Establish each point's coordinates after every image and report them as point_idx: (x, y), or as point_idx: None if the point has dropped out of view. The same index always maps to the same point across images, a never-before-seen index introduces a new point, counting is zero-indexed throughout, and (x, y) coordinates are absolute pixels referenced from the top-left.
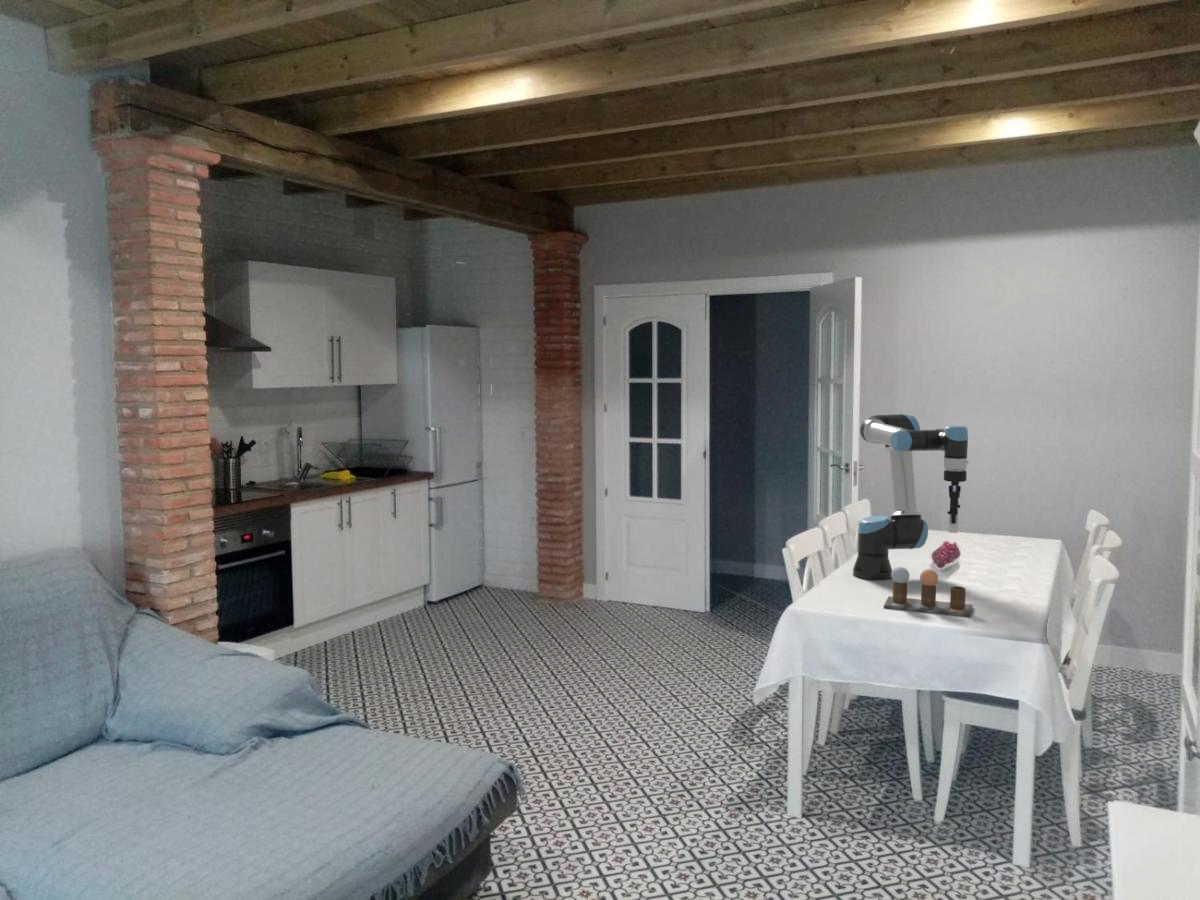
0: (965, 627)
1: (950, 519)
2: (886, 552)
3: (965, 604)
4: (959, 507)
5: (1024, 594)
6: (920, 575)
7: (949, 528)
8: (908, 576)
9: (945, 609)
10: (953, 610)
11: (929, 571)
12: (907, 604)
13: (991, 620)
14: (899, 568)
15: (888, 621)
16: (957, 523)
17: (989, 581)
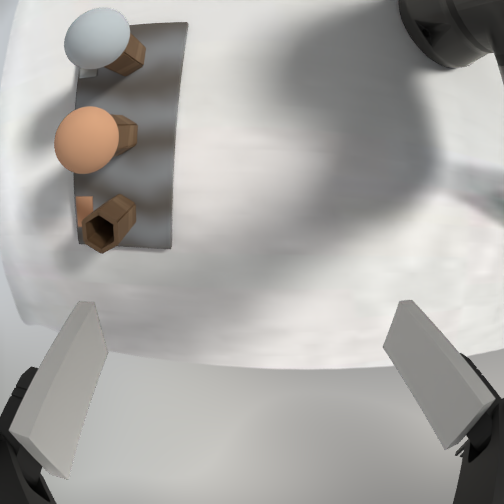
0: (18, 231)
1: (35, 391)
2: (475, 37)
3: (164, 231)
4: (457, 452)
5: (337, 344)
6: (76, 109)
7: (66, 325)
8: (81, 67)
9: (92, 183)
10: (87, 204)
11: (59, 145)
12: (107, 81)
13: (86, 281)
14: (72, 30)
15: (3, 78)
16: (392, 358)
17: (432, 282)
